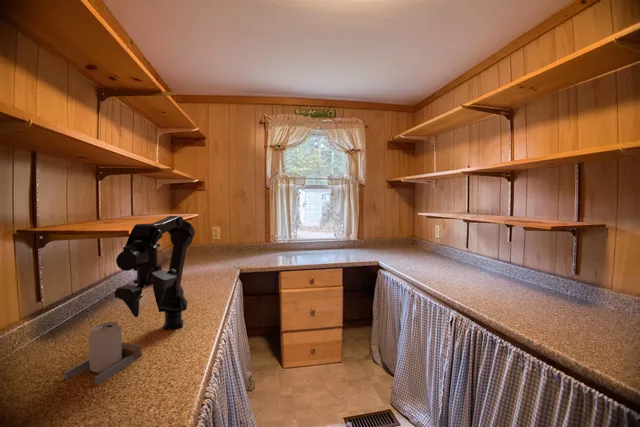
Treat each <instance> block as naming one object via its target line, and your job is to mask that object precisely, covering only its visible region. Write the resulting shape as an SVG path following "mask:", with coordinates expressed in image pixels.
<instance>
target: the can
mask: <svg viewBox="0 0 640 427" xmlns="http://www.w3.org/2000/svg"><path fill="white" fill-rule="evenodd" d="M90 330H91V331H90V332H89V333H88V334H87V336H88V337H87V338H88V340H87V341H88V359H89V367H88V368H89V370H90V371H91V372H94V373H95V374H96V373H97V374H100V373H102V372H103V371H105V370H106V369H108V368H110V367H111V366H113V365H115V364H116V363H118V362H119V361H121V360H122V343H123V342H122V339H123V338H122V327H121V326H120V325H119V322H117V321H106V322H102V323H98V324H96V325H94V326H93V327H92V328H91V329H90Z"/></svg>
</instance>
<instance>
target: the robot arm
mask: <svg viewBox="0 0 640 427" xmlns="http://www.w3.org/2000/svg"><path fill="white" fill-rule="evenodd" d="M166 232H167V233H168V235H170V237H169V239H170V242H171V244H172V246H173V247H172V252H171V258H170V263H169V267H168V271H167V270H163V267H162V265H160V264H158V248H159V247H161V244H160V243H158V241H159V240H161V239H162V238H163V234H165V233H166ZM195 233H196V230H195V228H194V227H193V225H192V224H191V223H190V222H188V221H186V220H185V219H184V218H183V216H180V215H169V216H166V217H165V218H161V219H160V220H157V221H155V222H152V223H151V222H149V223H148V222H147V223H136V224H134V226H133V227H132V229H131V230H130V234H129V236H128V237H127V241H126V242H125V244H124V245H125V246H123V247H122V248H123V249H122V251H121V252H120V253H119V254H118V255H117V257H116V259H115V263H116V265H117V268H119V269H120V270H122V271H124V272H125V271H126V272H127V271H132V270H133V271H135V272H136V279H134V280H133V284H126V285H122V286H119V287H117V288H116V289H115V290H114V299H119V300H122V301H123V302H124V303H125V305H126V306H127V307H128V309H129V310H130V313H131V314H132V316H133V317H134V318H138V317H139V314H140V300H141V299H142V298H143V295H142V293H143V290H146V289H149V288H151V287H152V289H153V294H154V298H155V303H156V306H157V310H158V312H159V313H163V312H164V324H163V328H162V331H168V330H174V329H180V328H181V329H182V328H183V327H184V320H183V319H182V317H183V316H182V312H184V311H187V308H188V301H187V299H186V298H185V297H184V289H183V287H182V286H181V282H182V278H183V272H184V265H185V259H186V255H187V249H188V248H189V246H190V245H191V244H192V243H193V240H194V237H195V235H196V234H195Z"/></svg>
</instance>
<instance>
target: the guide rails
mask: <svg viewBox="0 0 640 427" xmlns="http://www.w3.org/2000/svg"><path fill="white" fill-rule="evenodd" d="M134 362H135V361H134V356H133V355H129V356H128V357H126V358H124V359H123V360H121V361H119V362H118V363H116V364H115V365H113V366H111V367H110V368H108V369H106V370H105V371H103V372H102V373H97V375H95V376H94V378H93V379H94V385H95V386H99V385H100V384H101V383H103V382H104V381H106V380H108V379H109V378H111V377H113V376H114V375H116V374H118V373H119V372H120V371H122V370H123V369H124V368H126V367H128V366H129V365H131V364H132V363H134ZM88 368H89V358H87V359H85V360H83V361H81V362H79V363H78V364H76V365H74V366H72V367H70V368H69V369H66V370H65V371H63V380H65V381H66V380H69V379H71V378H73V377H75V376H76V375H78V374H80V373H81V372H84V371H86V370H87V369H88Z"/></svg>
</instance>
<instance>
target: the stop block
mask: <svg viewBox="0 0 640 427" xmlns="http://www.w3.org/2000/svg"><path fill="white" fill-rule="evenodd" d="M142 346H143V345H142V344H138V343H128V342H122V360H123V359H124V358H126V357H128V356H129V355H133V356H134V362H135V361H137V360H138V359H140V358H141V357H143V349H142V348H143V347H142Z"/></svg>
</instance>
